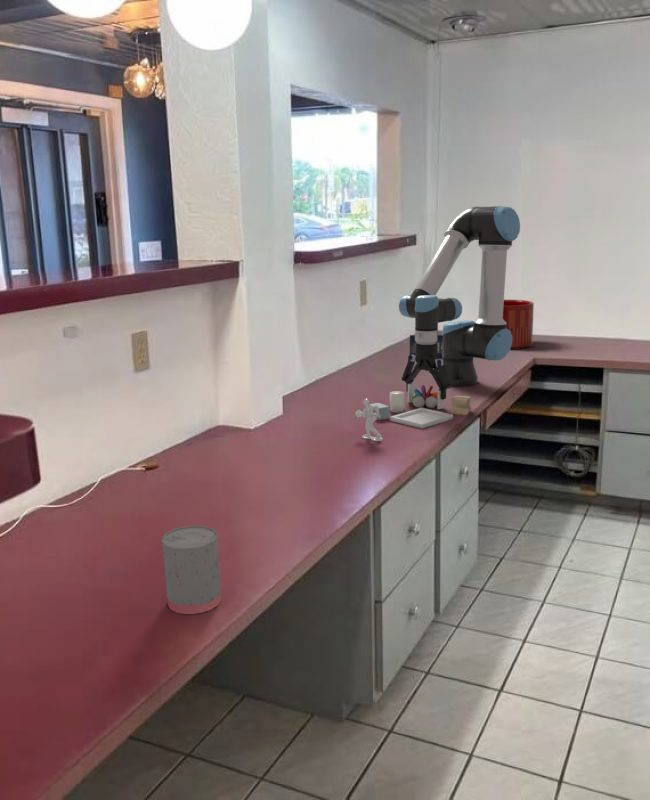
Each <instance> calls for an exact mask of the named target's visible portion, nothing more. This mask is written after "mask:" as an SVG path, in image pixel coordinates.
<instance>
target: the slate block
mask: <svg viewBox="0 0 650 800" xmlns="http://www.w3.org/2000/svg"><path fill="white" fill-rule="evenodd" d="M369 406H378V408H379V415H381V418H379V417H376V418H377V420H376V421H381V420H387V419H390V405H389V406H388V405H386V404H383V403H382V402H381V403H380V402H376V403H369ZM373 413H375V414H376V410H375V409H374V410H373Z"/></svg>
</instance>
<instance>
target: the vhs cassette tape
mask: <svg viewBox="0 0 650 800" xmlns="http://www.w3.org/2000/svg"><path fill="white" fill-rule="evenodd" d="M416 343H417V342H416V341H415V334H410V335H409V355H413V354H415V344H416ZM436 343H437V344H438V353H437V355H436V358H437V359H438V358H439V359H442V334H438V341H437V342H436ZM415 356H416V354H415Z"/></svg>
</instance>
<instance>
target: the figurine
mask: <svg viewBox="0 0 650 800" xmlns="http://www.w3.org/2000/svg"><path fill="white" fill-rule="evenodd" d="M363 404H364V405H363V406H364V408H363V409H362V410H363V411H361V409H360V408H359V409H358V410H356V411H355V413H354V414H355V416H356V418H359V417H361V418H362V417H363V418H364V419H365V418H366V419H365V422H366V423H365V424H364V425H365V427H364V428H365V432H366V434H363V435H362V436H361V438H362V439H366V440H370V439H371V440H370V441H373V442H383V441H384V438H383V437H382V434H381V433H380V432H379V431H378V430H377V429H376V428H375V427H374V424H373V423H375V421H378V420H377V418H376V417H379V418H381V415H379V408H378V406H369V404H370V400H369V399H367V398H364V400H363ZM374 409H375V410H376V414H375V413H373V410H374ZM371 432H372V433H373V434H374V435H375V436H372V435H371Z"/></svg>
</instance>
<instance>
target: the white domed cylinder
mask: <svg viewBox="0 0 650 800" xmlns="http://www.w3.org/2000/svg"><path fill="white" fill-rule="evenodd" d="M389 412H391V413H398V414H399V413H405V412H406V392H405V391H399V390H396V391H395V390H394V391H390V392H389Z"/></svg>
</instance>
